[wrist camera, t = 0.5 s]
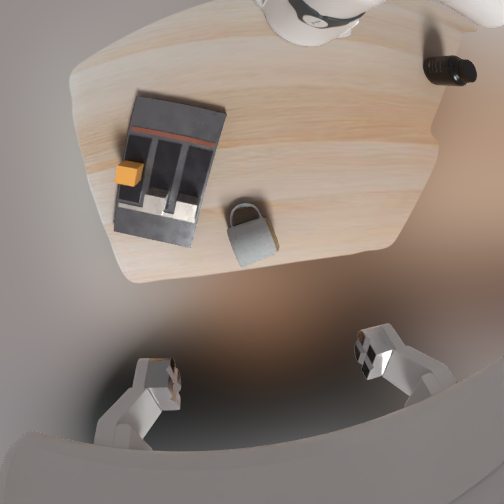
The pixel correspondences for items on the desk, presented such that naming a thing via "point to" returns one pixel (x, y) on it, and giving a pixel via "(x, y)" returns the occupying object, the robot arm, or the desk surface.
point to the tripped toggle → (129, 173)
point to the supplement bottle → (449, 71)
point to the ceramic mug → (252, 238)
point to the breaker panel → (167, 169)
